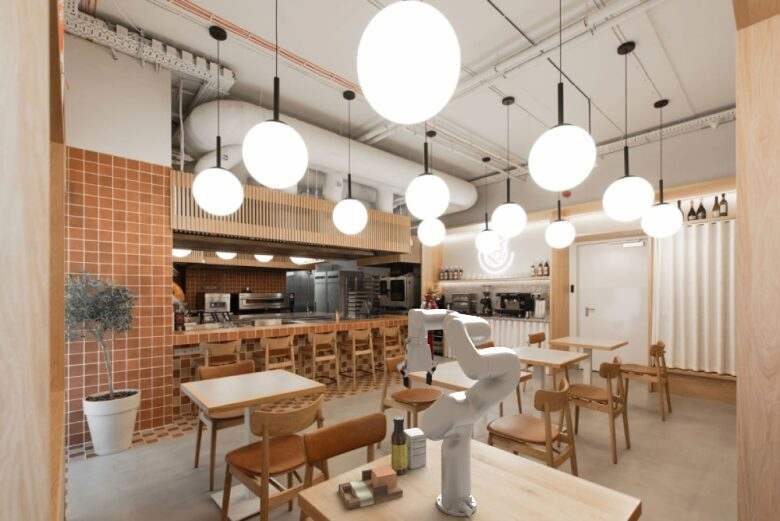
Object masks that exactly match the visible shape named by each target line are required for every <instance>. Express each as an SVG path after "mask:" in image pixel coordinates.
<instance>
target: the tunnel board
mask: <svg viewBox="0 0 780 521" xmlns="http://www.w3.org/2000/svg"><path fill="white" fill-rule="evenodd" d="M371 469H372V468H370V469H365V470H361V479H358V480H354V481H349V482H345V483H339V484H338V492H339V495H340V496H341V498H342V499H343V502H344V504H345V505H346V507H348V508H347V510H348V509H349V511H350V510H355V509H358V507H359V508H362V507H366V506H370V505H375V504H379V503H382V502H387V501H390V500H395V499H399V498H403V497H404V495H403V494H404V493H403V492H404V490H403V489H402V487H401V486H400V485H399V484H398V483H397V482H396V487H393V488H389V489H388V484H387V483H385V484H381V485H376V486H374V485H373V484H372V482H371ZM348 492H351V493H352V495H353V496H354V498H350V499H348V497H347V495H346V493H348Z"/></svg>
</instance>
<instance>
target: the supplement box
mask: <svg viewBox="0 0 780 521" xmlns="http://www.w3.org/2000/svg"><path fill="white" fill-rule="evenodd" d="M404 432H405V434H406V436H407V465H408V466H407V468H409V469H410V470H415V469H420V468H423V466H424V467H426V466H427V437H426V436H425V435H424V433H423V431H422V429H421V428H418V427H413V428H407V429H404ZM419 467H420V468H419Z"/></svg>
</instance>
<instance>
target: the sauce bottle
mask: <svg viewBox="0 0 780 521" xmlns="http://www.w3.org/2000/svg"><path fill="white" fill-rule="evenodd" d="M404 421H405V418H404V417H403V416H400V415H399V416H394V417H393V431H392V434H391V438H390V458H391V460H390V462H391V463H390V466H391V467H392V469H393V470H394V471H395V472H396V475H403V474H405V473H407V472H408V465H407V436H406V434H405V432H404V430H405V428H404V426H405V425H404V424H405V423H404Z"/></svg>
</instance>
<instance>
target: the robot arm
mask: <svg viewBox="0 0 780 521" xmlns="http://www.w3.org/2000/svg"><path fill="white" fill-rule="evenodd" d="M407 314H408V315H407V316H408V318H407V320H408V321H407V324H408V325H407V327H408V328H407V337H406V338H404V342H405V343H407V344H406V346H405V351H404V359H403V360H402V361H401V362H399V363H398V364H396V368H397V370H398V372H399V373H400V374H401V376H402V384H403V386H404V387H405V388H407V389H409V387H410V383H409V382H410V377H409V374H411V373H420V372H421V373H422V372H426V373H425V383H426V385H429V386H432V383H433V375H434V373H435V372H436V370H437V367H438V364H439V362H438V361H436V360H433V359H432V351H431V347H430V344H428V331H435V330H443V333H444V337H445V339H446V342H447V345H448V346H449V348H450V350H451V353H452V355H453V356H454V358H455V360H456V362H457V363H458V365H459V368H460V369H461V371H462V373H463V374H464V375H465V376H466V377H467V378H468V379H470V380H472V381H476V382H475V383H474V384H473V385H472V386H471V387H469V388H468V389H466V390H460V391H455V392H447V393H445V394H443V395H441V396H439V397H438V398H437V399H435V400H434V402H432V404H431V405H430V406H429V407H427V408H426V410H425V411H424V412H423V414H422V416H421V421H420V422H421V423H420V425H421V426H420V429H421V430H422V431H423V433H424V435H425V436H426V439H428V440H429V441H433V442H438V441H439V442H440V441H441V440H442V441H441V442H442V443H441V450H440V465H441V467H440V469H441V470H440V471H441V473H440V485H441V487H440V488H441V493H440V494H438V496H437V497H436V507H437V508H438V509H439V510H440V511H441V512H443V513H445V514H447V515H450V516H453V517H465V516H468V517H470V516H472V515H473V513H475V511H476V509H477V504H476V503H477V501H476V500H475V498H474V497H473V496H472V485H471V484H472V481H471V480H472V475H471V474H472V472H471V471H472V470H471V468H472V467H471V454H472V453H471V443H472V442H471V440H472V434H473V429H474V423H477V422H479V421H480V420H481V419H482V418H484V417H485V416H486V415H488V414H489V413H491V411H493V410H494V409H495V408H496V407H497V406H499V405H500V404H501V403H502V402H504V401H505V400H506V399H508V397H510V396H511V395H512V394H513V393H514V391H515V390H516V389H517V387H518V385H519V382H520V379H521V375H522V364H521V359H520V357H519V356H518V354H517V353H516V351H514V350H512V349H510V348H508V347H503V346H493V347H492V346H491V347H484V348H483V347H482V348H476V347H475V346H477V345H478V346H479V345H481V344H482V345H483V344H484V343H486V342H487V341H488V340H489V339H490V338H491V336H492V328H491V325H490V323H489V322H488V321H487V320H485V319H483V318H482V317H480V316H479V317H478V316H473V315H468V314H461V313H459V312H458V311H455V310H450V309H442V308H441V309H438V308H437V309H435V308H434V309H424V308H410V309H409V311H408V313H407ZM403 367H404V370H403Z"/></svg>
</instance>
